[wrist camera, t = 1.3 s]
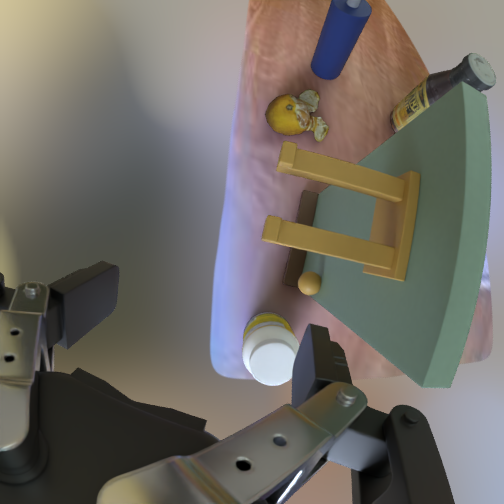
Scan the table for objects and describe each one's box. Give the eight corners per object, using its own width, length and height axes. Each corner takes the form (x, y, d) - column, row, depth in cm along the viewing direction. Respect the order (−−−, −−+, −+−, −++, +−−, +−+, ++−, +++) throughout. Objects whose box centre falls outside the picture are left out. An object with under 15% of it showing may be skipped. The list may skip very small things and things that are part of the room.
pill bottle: (289, 356, 39) (302, 393, 28) (242, 355, 39) (240, 392, 28) (292, 311, 39) (308, 335, 28) (244, 310, 39) (242, 333, 28)
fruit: (332, 140, 38) (339, 131, 35) (272, 149, 38) (274, 140, 35) (316, 89, 38) (321, 77, 35) (259, 97, 38) (260, 84, 35)
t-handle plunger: (337, 92, 38) (395, -11, 16) (307, 84, 38) (345, -28, 16) (342, 53, 38) (390, -46, 16) (314, 45, 38) (347, -61, 16)
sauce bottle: (394, 99, 38) (462, 30, 18) (426, 122, 38) (504, 67, 18) (381, 130, 38) (456, 63, 18) (415, 153, 38) (502, 104, 18)
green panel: (247, 275, 39) (237, 366, 9) (268, 183, 38) (311, 21, 8) (330, 293, 39) (494, 386, 9) (349, 203, 38) (526, 124, 8)
